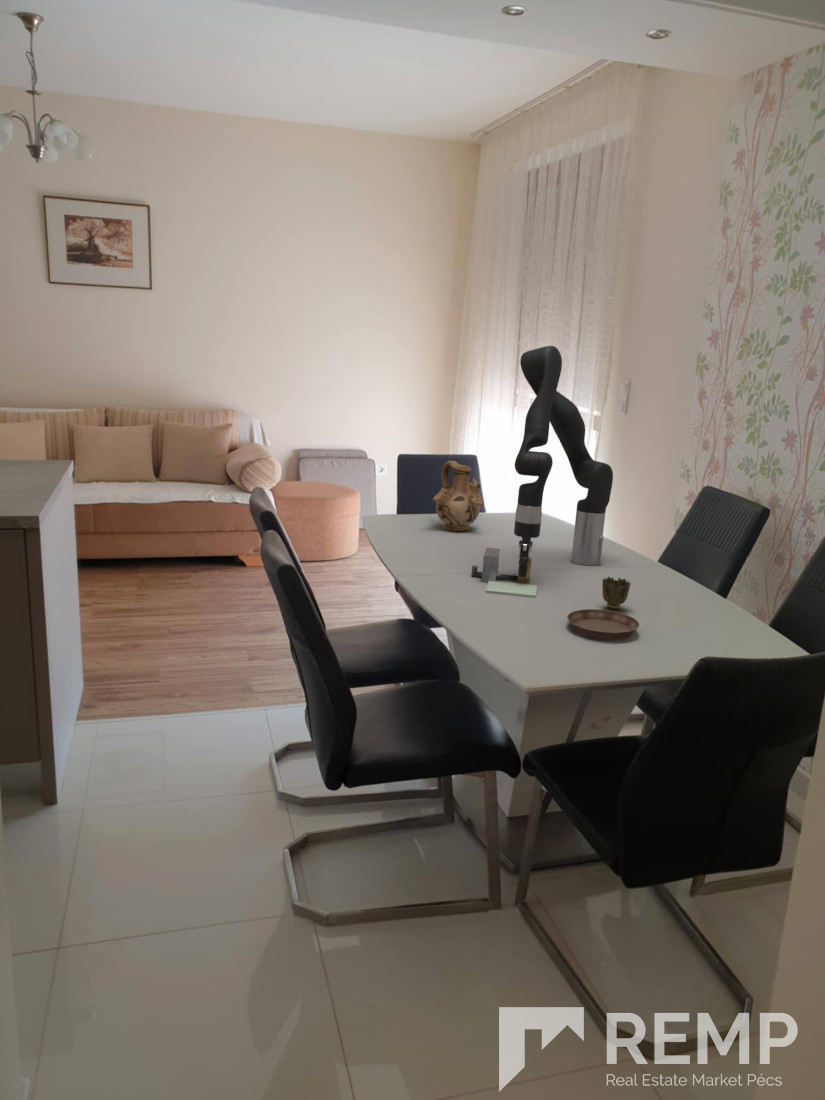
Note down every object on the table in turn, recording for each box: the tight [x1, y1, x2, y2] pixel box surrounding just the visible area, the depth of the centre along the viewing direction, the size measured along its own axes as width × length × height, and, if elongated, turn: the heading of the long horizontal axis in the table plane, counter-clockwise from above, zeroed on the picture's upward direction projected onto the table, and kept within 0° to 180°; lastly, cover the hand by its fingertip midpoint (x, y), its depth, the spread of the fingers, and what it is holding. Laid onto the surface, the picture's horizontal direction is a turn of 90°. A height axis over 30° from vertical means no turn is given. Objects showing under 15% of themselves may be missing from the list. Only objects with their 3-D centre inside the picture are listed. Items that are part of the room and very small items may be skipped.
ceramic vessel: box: [432, 460, 484, 532], centre depth 308 cm, size 18×19×25 cm
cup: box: [601, 576, 631, 611], centre depth 226 cm, size 8×7×8 cm
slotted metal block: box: [481, 547, 501, 584], centre depth 249 cm, size 4×10×8 cm, turn 170°
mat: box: [485, 580, 538, 598], centre depth 239 cm, size 14×10×1 cm
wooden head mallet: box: [470, 557, 533, 585], centre depth 248 cm, size 17×4×7 cm, turn 80°
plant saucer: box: [566, 608, 640, 641], centre depth 209 cm, size 18×18×3 cm
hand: (522, 573), depth 248 cm, fingers open, 8 cm apart
